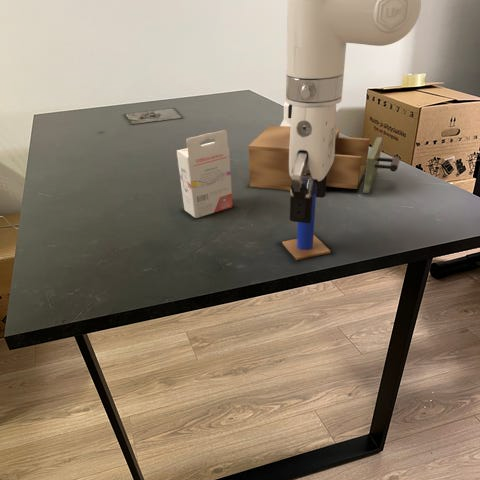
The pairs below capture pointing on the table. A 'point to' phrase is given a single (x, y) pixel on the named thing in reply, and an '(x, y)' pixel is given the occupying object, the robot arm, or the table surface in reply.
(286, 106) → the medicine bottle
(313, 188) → the marker
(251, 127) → the table surface
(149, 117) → the mousepad
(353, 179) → the drawer
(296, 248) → the coaster
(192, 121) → the table surface
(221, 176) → the ink cartridge box
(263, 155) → the cabinet
